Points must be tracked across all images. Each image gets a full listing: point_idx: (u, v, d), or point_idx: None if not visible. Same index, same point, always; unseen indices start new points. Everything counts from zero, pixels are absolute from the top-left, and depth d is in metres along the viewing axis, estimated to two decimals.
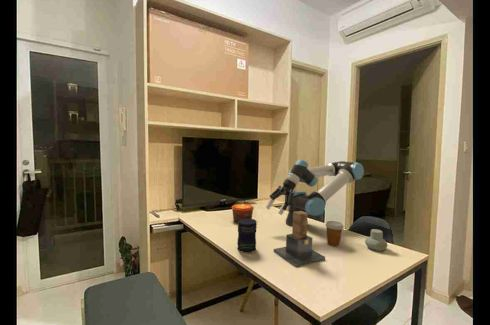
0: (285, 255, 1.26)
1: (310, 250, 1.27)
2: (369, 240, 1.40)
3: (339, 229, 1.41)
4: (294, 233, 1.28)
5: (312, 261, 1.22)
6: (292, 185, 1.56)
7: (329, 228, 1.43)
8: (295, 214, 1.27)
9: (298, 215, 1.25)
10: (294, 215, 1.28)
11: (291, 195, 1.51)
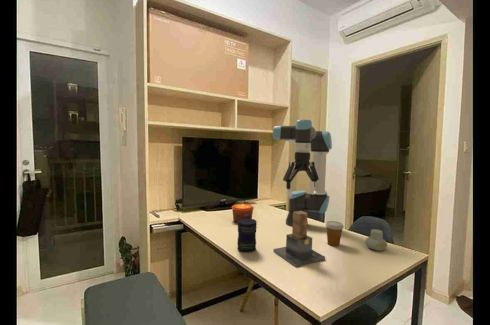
0: (285, 255, 1.26)
1: (310, 250, 1.27)
2: (369, 240, 1.40)
3: (339, 229, 1.41)
4: (294, 233, 1.28)
5: (312, 261, 1.22)
6: None
7: (329, 228, 1.43)
8: (295, 214, 1.27)
9: (298, 215, 1.25)
10: (294, 215, 1.28)
11: None
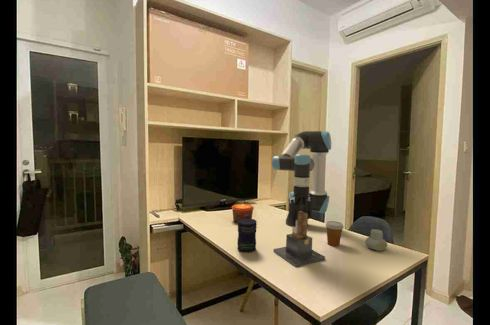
0: (285, 255, 1.26)
1: (310, 250, 1.27)
2: (369, 240, 1.40)
3: (339, 229, 1.41)
4: (294, 233, 1.28)
5: (312, 261, 1.22)
6: None
7: (329, 228, 1.43)
8: None
9: (298, 215, 1.25)
10: None
11: None
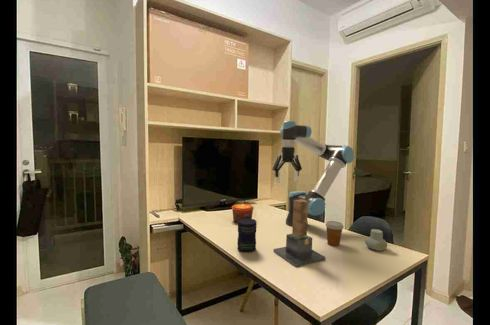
0: (285, 255, 1.26)
1: (310, 250, 1.27)
2: (369, 240, 1.40)
3: (339, 229, 1.41)
4: (295, 221, 1.27)
5: (312, 261, 1.22)
6: None
7: (329, 228, 1.43)
8: (295, 202, 1.27)
9: (299, 203, 1.25)
10: (294, 203, 1.28)
11: None
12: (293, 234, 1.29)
